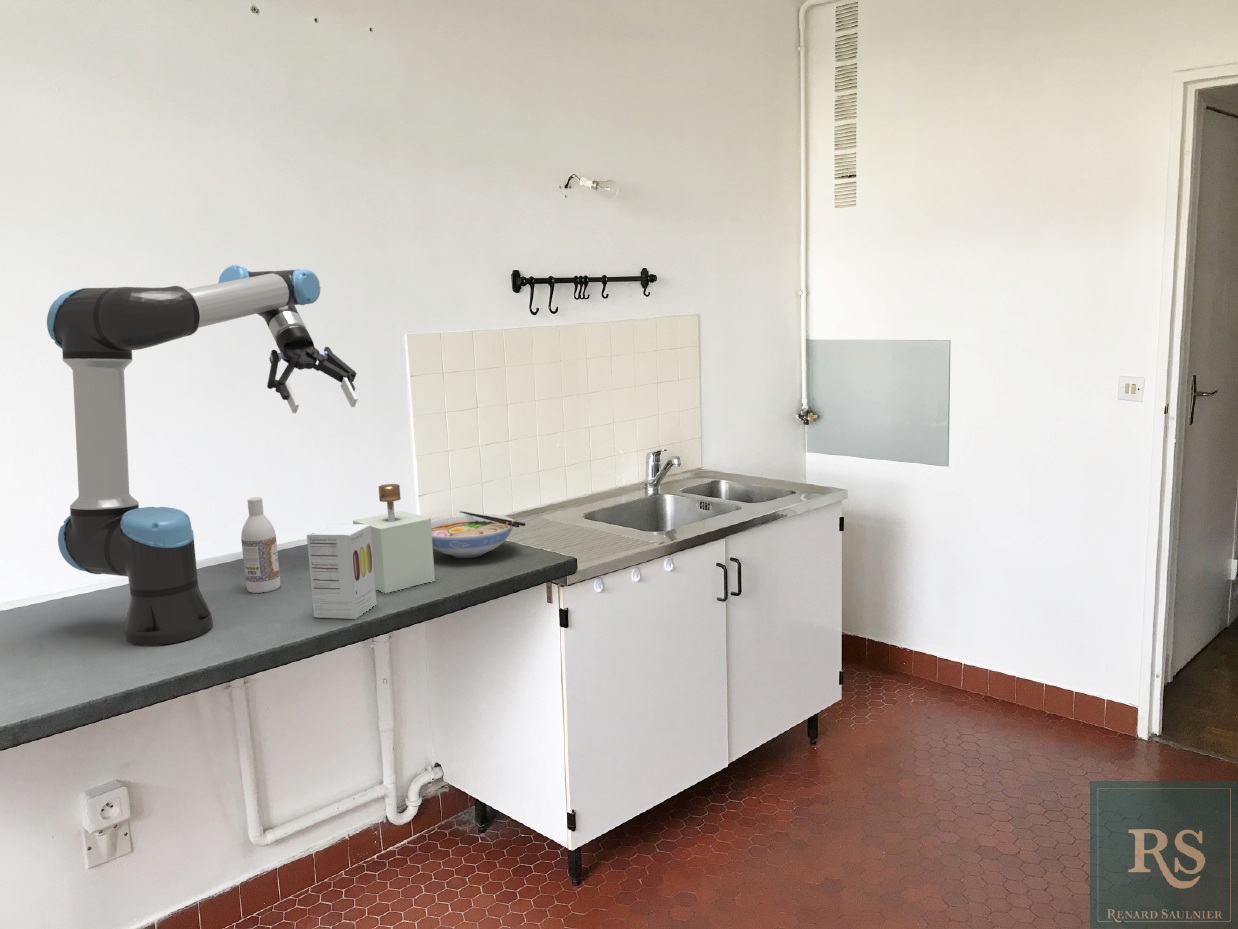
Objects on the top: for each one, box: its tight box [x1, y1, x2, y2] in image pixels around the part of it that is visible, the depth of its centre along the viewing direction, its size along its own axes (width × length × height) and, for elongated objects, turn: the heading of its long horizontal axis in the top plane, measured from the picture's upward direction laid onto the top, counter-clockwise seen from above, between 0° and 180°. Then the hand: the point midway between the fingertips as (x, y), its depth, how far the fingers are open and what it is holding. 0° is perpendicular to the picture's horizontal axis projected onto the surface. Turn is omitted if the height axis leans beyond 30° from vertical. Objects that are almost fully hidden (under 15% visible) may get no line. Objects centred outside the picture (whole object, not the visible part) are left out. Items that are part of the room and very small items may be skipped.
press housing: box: [352, 510, 436, 593], centre depth 210 cm, size 12×12×14 cm
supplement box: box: [306, 523, 377, 620], centre depth 191 cm, size 10×9×17 cm
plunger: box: [378, 483, 401, 522], centre depth 209 cm, size 9×9×19 cm
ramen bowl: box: [431, 510, 526, 559], centre depth 231 cm, size 25×23×8 cm
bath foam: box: [240, 496, 281, 594], centre depth 208 cm, size 7×7×20 cm
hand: (326, 406), depth 213 cm, fingers open, 13 cm apart
